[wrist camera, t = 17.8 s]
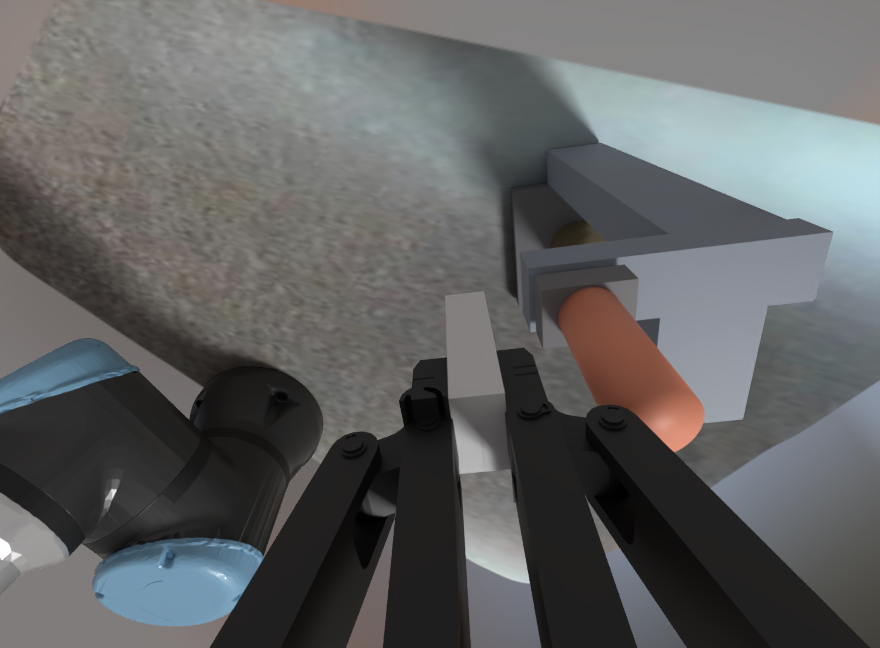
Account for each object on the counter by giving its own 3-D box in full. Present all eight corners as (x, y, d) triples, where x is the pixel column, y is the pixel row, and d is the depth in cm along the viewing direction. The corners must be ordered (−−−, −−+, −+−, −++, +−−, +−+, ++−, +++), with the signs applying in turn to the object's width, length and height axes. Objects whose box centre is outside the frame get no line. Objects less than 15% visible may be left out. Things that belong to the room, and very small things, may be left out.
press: (488, 303, 51) (538, 520, 26) (476, 159, 44) (527, 268, 19) (629, 287, 50) (817, 494, 25) (639, 137, 43) (912, 222, 18)
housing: (551, 272, 48) (588, 336, 36) (549, 224, 45) (588, 276, 34) (601, 266, 47) (654, 328, 36) (602, 217, 45) (659, 267, 33)
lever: (536, 331, 20) (588, 466, 13) (534, 275, 19) (590, 391, 12) (621, 321, 20) (720, 453, 13) (624, 264, 19) (735, 376, 12)
